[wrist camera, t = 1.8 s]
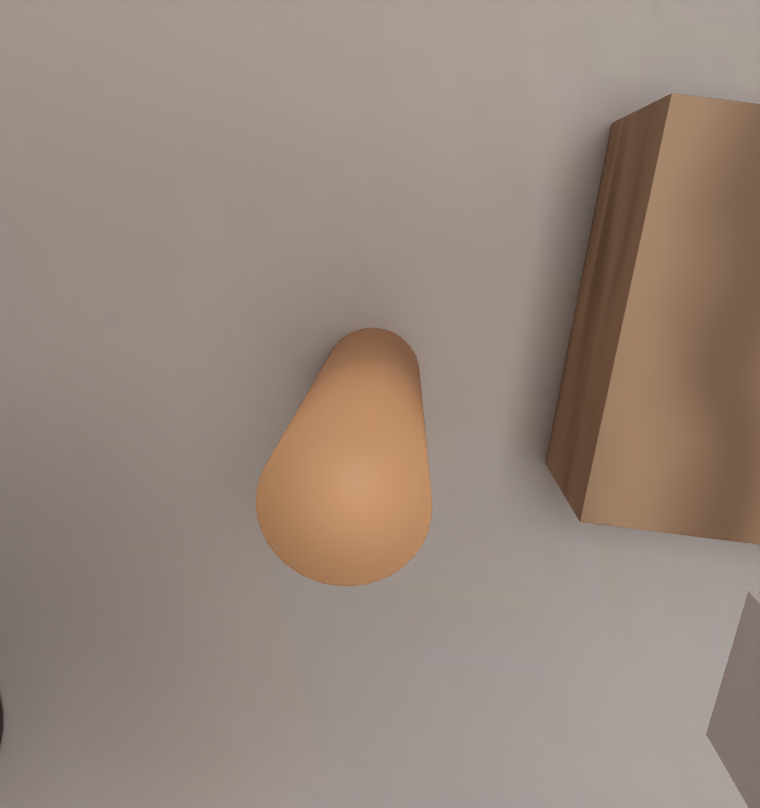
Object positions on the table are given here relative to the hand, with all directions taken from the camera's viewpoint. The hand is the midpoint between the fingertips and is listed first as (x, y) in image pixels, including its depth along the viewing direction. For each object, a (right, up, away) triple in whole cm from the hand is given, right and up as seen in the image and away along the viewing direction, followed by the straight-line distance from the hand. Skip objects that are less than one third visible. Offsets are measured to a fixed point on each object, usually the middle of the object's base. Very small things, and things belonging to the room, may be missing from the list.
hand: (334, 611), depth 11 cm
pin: (0, +5, +18) cm, 18 cm away
